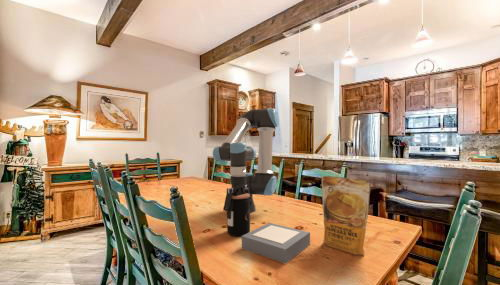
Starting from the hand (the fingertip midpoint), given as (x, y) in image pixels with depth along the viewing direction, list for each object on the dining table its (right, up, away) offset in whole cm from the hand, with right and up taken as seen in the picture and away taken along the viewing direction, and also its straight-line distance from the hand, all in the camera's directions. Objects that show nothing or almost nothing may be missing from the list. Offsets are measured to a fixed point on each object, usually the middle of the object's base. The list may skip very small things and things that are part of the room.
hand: (238, 222), depth 112 cm
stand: (+16, -5, -15) cm, 23 cm away
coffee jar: (0, -5, 0) cm, 5 cm away
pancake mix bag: (+43, -5, -17) cm, 46 cm away
